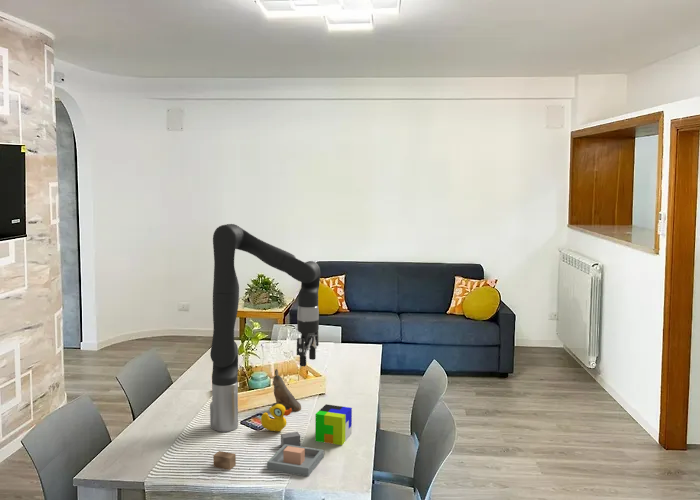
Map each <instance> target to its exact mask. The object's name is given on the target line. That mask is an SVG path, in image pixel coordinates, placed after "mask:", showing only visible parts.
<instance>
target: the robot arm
mask: <svg viewBox="0 0 700 500" xmlns="http://www.w3.org/2000/svg"><path fill="white" fill-rule="evenodd" d="M212 245H213V247H212V248H213V259H214V260H213V262H214V263H213V264H214V265H213V285H212V286H213V287H212V289H213V290H212V321H213V322H212V323H213V331H212V339H211V340H212V341H211V342H212V343H211V348H210V353H209V354H210V359H211V362H212V373H211V397H212V399H211V402H210V403H209V411H210V412H209V415H210V416H209V417H210V420H209V421H210V422H209V423H210V425H209V426H210V429H213V430H214V431H216V432H231V431H234V430H236V429H237V428H239V404H238V403H239V399H238V398H239V397H238V396H239V395H238V394H239V391H238V389H239V388H238V384H239V383H238V382H239V381H238V375H239V349H238V344H237V342H236V341H235V326H236V320H237V317H238V316H237V315H238V312H239V310H238V309H239V302H240V285H239V280H238V277H237V272H236V269H235V268H236V267H235V254H236V250H238V251H242V252H246V253H248V254H251V255H252V256H254V257H256V259H259V260H260V261H261V262H263V263H265V264H266V265H268V266H270V267H271V268H274V269H276V270H278V271H281V272H283V273H285V274H287V275H288V276H290V277H291V278H293V279H294V280H296V281H298V282H300V284H301V285H300V289H299V291H298V297H297V298H298V303H297V305H298V306H297V317H296V319H297V324H296V325H297V326H296V327H297V328H296V329H297V332H299V333H300V334H301V336H300V337H297V338H296V356H299V366H300V367H304V368H305V367H306V366H307V354H308V353H309V355H308V356H309V357H308V358H309V360H311V361H313V360H314V361H315V360H316V352H317V351H316V350H317V347H319V345H320V344H319V326H320V325H319V323H320V322H319V321H320V313H319V312H320V311H319V289H320V282H321V267H320V266H319V264H318V263H317V262H315V261H313V260H310V261H309V260H307V261H305V262H304V261H302V260H300V259H299V258H296V256H295V255H294V254H293V253H291V252H289V251H286V250H284V249H282V248H279V247H277V246H275V245H272V244H270V243H267V242H265V241H264V240H262V239H260V238H258V237H256V236H254V235H253V234H252V233H250V232H248V231H246V230H245V229H243V228H242V227H240V226H238V225H237V224H235V223H228V224H227V223H226V224H222V225H219V226H218V227H216V229H215V230H214V232H213V235H212Z"/></svg>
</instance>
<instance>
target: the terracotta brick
mask: <svg viewBox="0 0 700 500" xmlns="http://www.w3.org/2000/svg"><path fill="white" fill-rule="evenodd" d="M304 461H305V449H304V448H298V447H291V446H287V447H286V448H285V449H284V450H283V462H285V463H292V464H298V465H301V464H302V463H303V462H304Z"/></svg>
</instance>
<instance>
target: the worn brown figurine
mask: <svg viewBox="0 0 700 500" xmlns="http://www.w3.org/2000/svg"><path fill="white" fill-rule="evenodd" d="M274 375H275V376H273V379H272V384H273V397H274V399H275V402H273V403H272V404H271V407H273V406H274V405H276V404H281V405H283V406H284V407H285V409H286V410H289V409H290V408H291V409H292V411H291V413H292V412H296V413H297V412H300V411H301V410H302V405H301V403H300V402H299V401H298V400H297V399H296V398H295V396H294V395H293V394H292V393H291V391H290V390H289V389H288V387H287V386H286V383H285V381H284V380H283V378H282V376H281V375H279V370H278V368H276V369H275V370H274ZM271 407H270V408H271Z"/></svg>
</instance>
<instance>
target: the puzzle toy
mask: <svg viewBox="0 0 700 500" xmlns="http://www.w3.org/2000/svg"><path fill="white" fill-rule="evenodd" d="M352 409H353V407H348V406H347V407H346V406H341V405H333V404H325V405H324V406H322V407H321V408H320V409H319V410H318V411H317V412H316V413H315V417H314V418H315V422H314V423H315V433H314V434H315V442H319V443H324V442H325V443H324V444H332V445H338V446H343V445H344V444H345V443H346V442H347V440H348V439H349V438H350V437H351V436H352V433H353V432H352V430H353V429H352V428H353V427H352V426H353V425H352V423H353V422H352V419H353V418H352V415H353V413H352V412H353V410H352ZM344 442H345V443H344Z"/></svg>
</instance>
